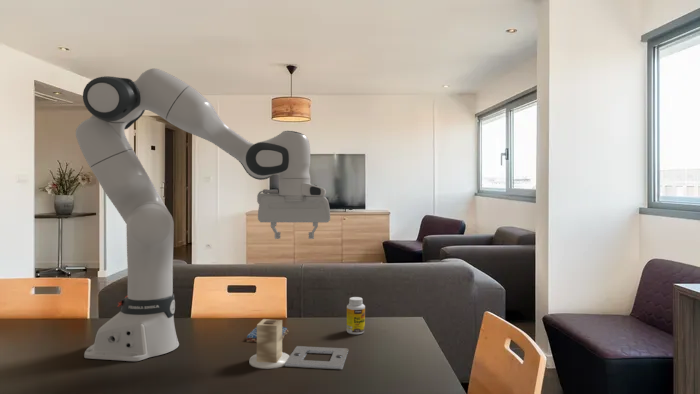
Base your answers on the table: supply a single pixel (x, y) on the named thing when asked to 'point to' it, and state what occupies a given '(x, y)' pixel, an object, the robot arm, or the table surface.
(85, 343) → the table surface
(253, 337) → the woven mat
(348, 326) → the supplement bottle
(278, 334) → the block
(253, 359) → the pad
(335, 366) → the rail plate
